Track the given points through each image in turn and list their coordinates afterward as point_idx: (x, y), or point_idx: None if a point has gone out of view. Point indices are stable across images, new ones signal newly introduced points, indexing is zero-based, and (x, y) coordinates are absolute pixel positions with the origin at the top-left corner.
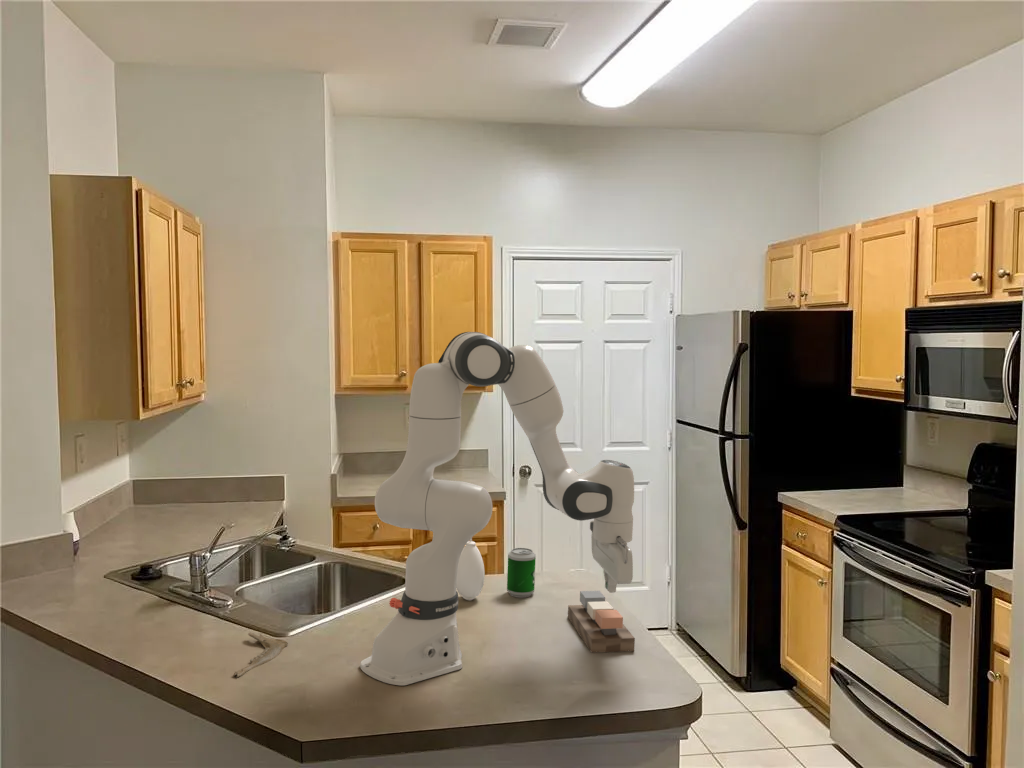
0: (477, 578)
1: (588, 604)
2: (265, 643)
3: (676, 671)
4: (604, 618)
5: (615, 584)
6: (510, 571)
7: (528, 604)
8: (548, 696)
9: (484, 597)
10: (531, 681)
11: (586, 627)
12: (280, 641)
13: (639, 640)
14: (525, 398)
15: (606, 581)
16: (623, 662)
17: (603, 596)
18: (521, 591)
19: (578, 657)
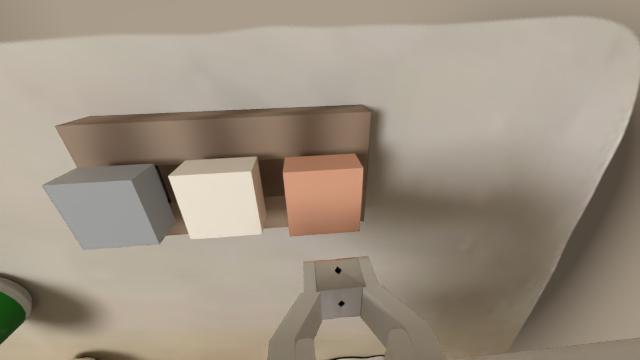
0: None
1: (205, 235)
2: None
3: (508, 22)
4: (359, 223)
5: (384, 293)
6: None
7: (74, 283)
8: (493, 281)
9: (65, 343)
10: (442, 295)
11: (285, 220)
12: None
13: (288, 63)
14: None
15: (320, 319)
16: (417, 149)
17: (121, 184)
18: (19, 310)
19: (374, 229)
